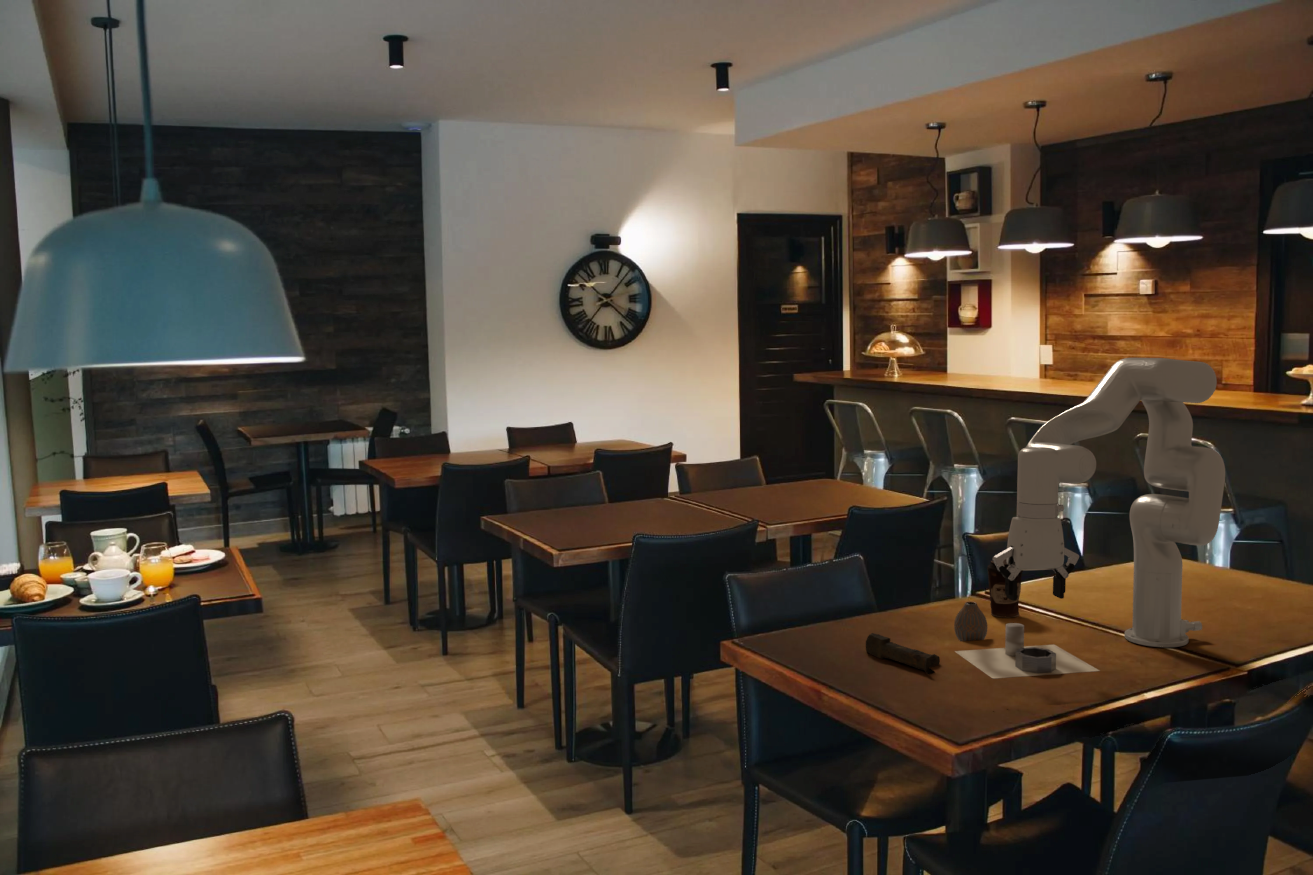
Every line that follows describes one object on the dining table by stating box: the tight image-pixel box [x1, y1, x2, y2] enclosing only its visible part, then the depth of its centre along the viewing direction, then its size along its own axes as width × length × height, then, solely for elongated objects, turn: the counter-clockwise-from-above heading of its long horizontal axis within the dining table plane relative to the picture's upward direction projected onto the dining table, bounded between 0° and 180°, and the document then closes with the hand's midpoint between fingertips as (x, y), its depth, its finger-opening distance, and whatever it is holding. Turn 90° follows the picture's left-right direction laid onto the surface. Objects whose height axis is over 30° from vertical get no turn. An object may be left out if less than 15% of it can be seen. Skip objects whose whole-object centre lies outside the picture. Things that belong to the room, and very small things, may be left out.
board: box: [954, 622, 1101, 679], centre depth 222 cm, size 22×18×8 cm
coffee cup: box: [986, 559, 1024, 618], centre depth 261 cm, size 9×8×13 cm
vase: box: [953, 601, 988, 642], centre depth 240 cm, size 7×7×9 cm
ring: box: [1015, 647, 1056, 673], centre depth 218 cm, size 7×7×3 cm
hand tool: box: [865, 632, 941, 675], centre depth 228 cm, size 19×4×5 cm, turn 31°
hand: (1035, 597), depth 216 cm, fingers open, 9 cm apart
